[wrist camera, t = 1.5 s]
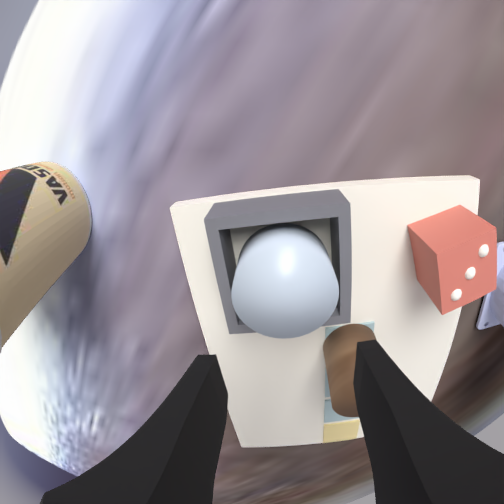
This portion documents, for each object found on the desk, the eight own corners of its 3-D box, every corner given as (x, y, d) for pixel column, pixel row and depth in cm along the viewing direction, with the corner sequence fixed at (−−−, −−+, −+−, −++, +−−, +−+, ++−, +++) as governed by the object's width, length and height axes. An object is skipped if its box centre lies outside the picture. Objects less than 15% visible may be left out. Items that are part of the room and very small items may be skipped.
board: (469, 175, 16) (505, 191, 12) (418, 416, 26) (427, 444, 23) (175, 201, 18) (152, 224, 15) (242, 438, 29) (239, 469, 25)
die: (459, 204, 16) (498, 229, 12) (465, 258, 17) (498, 291, 13) (407, 225, 17) (438, 256, 13) (416, 279, 18) (443, 318, 14)
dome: (326, 218, 15) (338, 241, 12) (329, 299, 17) (338, 332, 14) (231, 228, 16) (222, 254, 13) (245, 307, 18) (240, 341, 15)
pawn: (377, 320, 19) (398, 372, 15) (372, 359, 21) (388, 411, 16) (322, 327, 20) (332, 383, 15) (322, 366, 21) (330, 421, 17)
